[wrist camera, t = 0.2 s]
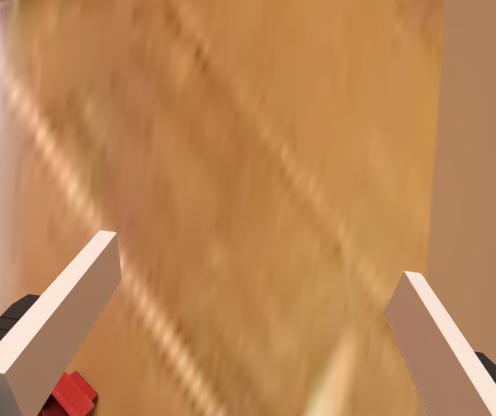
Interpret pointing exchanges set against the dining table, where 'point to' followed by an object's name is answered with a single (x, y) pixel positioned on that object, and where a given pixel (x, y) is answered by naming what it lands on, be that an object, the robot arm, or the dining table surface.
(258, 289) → the dining table surface
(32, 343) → the robot arm
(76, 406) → the toy fire truck
